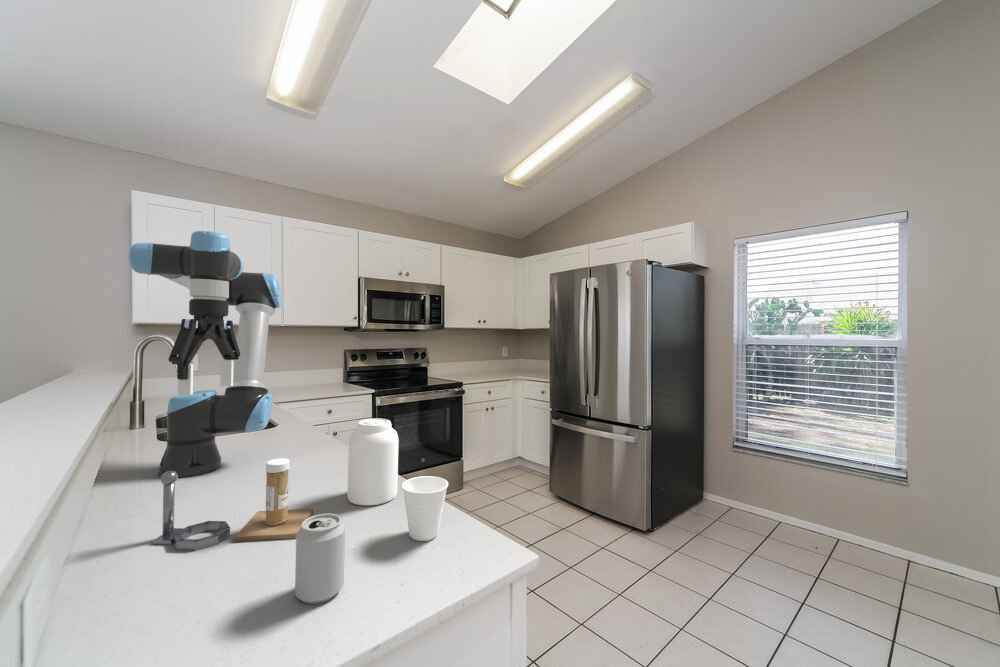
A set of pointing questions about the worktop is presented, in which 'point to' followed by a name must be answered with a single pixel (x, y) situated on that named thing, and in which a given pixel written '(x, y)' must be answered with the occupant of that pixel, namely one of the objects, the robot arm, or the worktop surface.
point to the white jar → (373, 463)
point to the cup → (424, 505)
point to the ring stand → (180, 534)
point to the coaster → (273, 527)
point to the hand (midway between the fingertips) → (207, 390)
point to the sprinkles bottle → (277, 491)
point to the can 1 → (320, 558)
